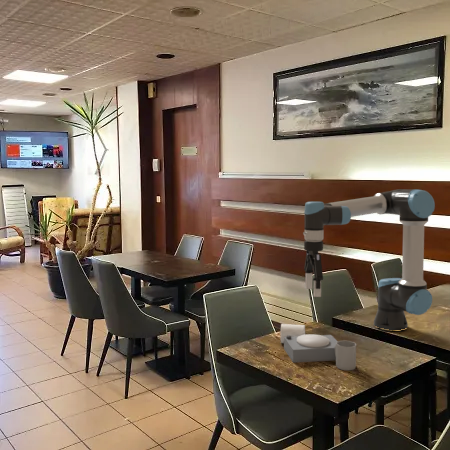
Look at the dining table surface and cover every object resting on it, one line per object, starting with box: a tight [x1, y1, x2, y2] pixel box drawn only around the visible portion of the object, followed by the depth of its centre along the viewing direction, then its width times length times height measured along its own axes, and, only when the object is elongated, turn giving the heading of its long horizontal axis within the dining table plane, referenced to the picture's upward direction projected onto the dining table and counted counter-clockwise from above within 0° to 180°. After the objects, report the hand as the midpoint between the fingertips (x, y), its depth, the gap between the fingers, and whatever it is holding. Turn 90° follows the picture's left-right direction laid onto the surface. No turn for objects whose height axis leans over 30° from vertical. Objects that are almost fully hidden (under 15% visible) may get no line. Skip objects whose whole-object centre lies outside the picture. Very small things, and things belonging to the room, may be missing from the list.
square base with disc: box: [283, 333, 338, 363], centre depth 195 cm, size 20×15×6 cm
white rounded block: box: [280, 323, 306, 344], centre depth 210 cm, size 12×10×8 cm
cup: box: [335, 340, 357, 371], centre depth 182 cm, size 7×10×9 cm
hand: (312, 292), depth 196 cm, fingers open, 13 cm apart
